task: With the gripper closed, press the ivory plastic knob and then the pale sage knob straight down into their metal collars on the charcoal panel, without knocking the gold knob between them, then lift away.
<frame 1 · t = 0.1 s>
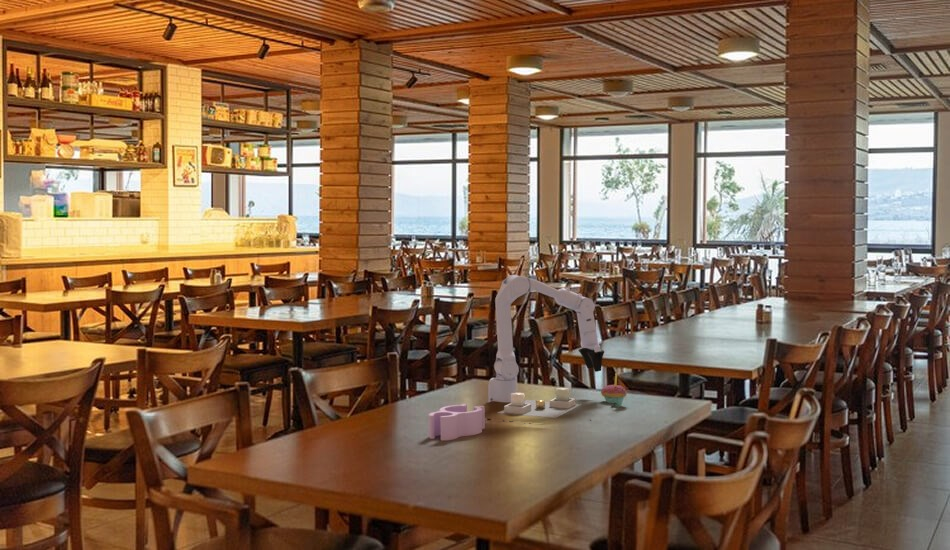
hand: (594, 369, 344), 11 cm above the table, tool pointing down, fingers open, 7 cm apart
ivory knob: (517, 399, 317), point 5 cm above the table, slide at 0.0 cm
cupcake: (613, 406, 333), on the table
gold knob: (540, 408, 322), point 1 cm above the table, touching panel
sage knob: (562, 394, 325), point 5 cm above the table, slide at 0.0 cm
panel: (540, 413, 322), on the table
clip: (456, 434, 293), on the table
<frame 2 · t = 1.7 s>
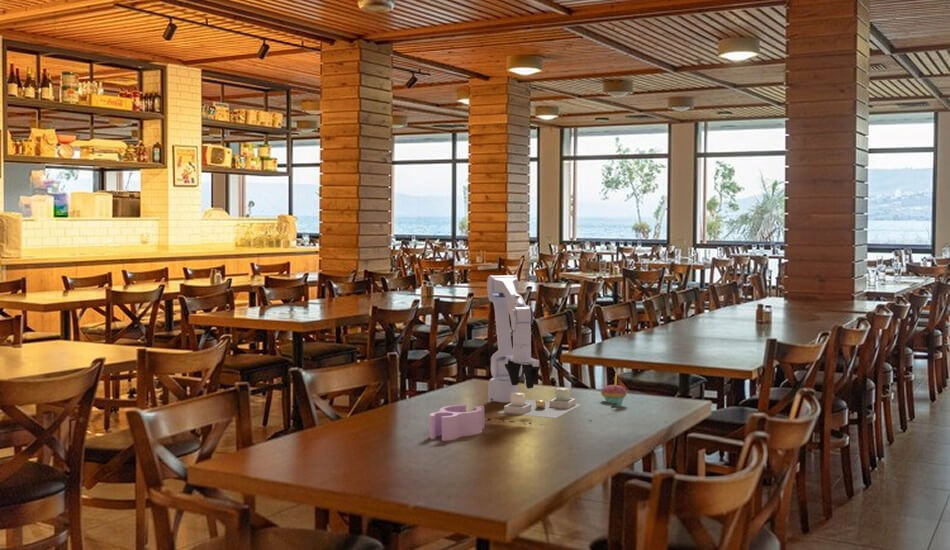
hand: (522, 386, 317), 9 cm above the table, tool pointing down, fingers open, 7 cm apart
nothing on the table moved.
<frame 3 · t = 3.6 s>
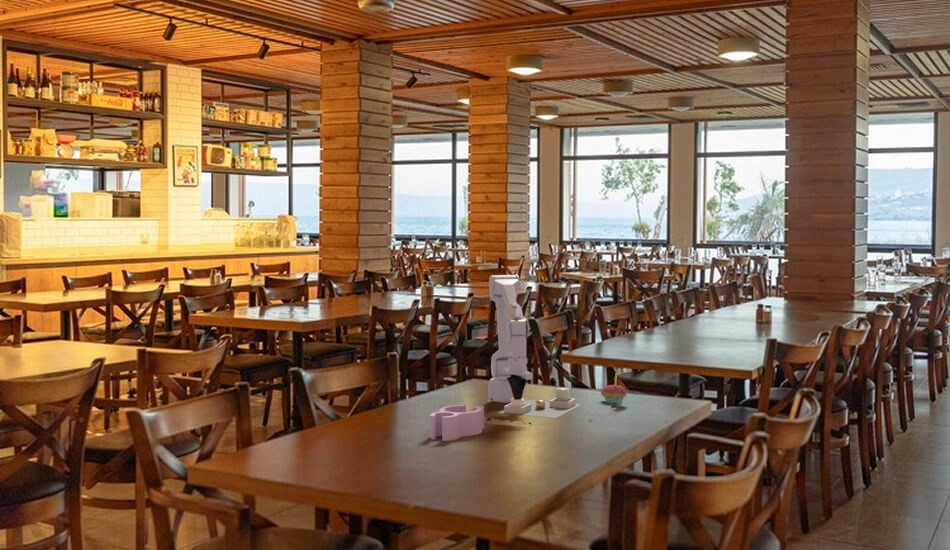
hand: (517, 399, 317), 5 cm above the table, tool pointing down, fingers closed, pressing on ivory knob
ivory knob: (517, 404, 317), point 4 cm above the table, slide at 1.7 cm, touching gripper
everything else where it was.
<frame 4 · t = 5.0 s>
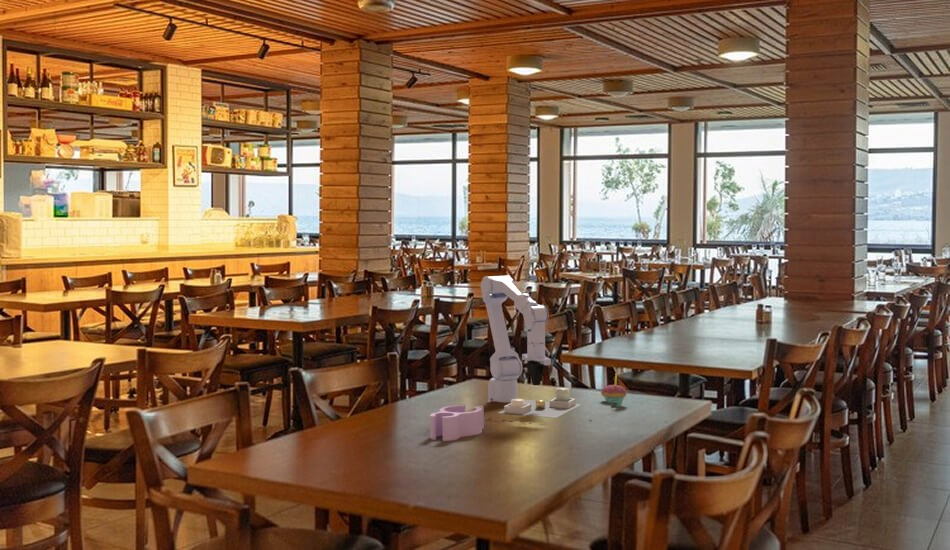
hand: (536, 384, 320), 9 cm above the table, tool pointing down, fingers closed
ivory knob: (517, 405, 317), point 3 cm above the table, slide at 2.0 cm, touching panel
everything else where it was.
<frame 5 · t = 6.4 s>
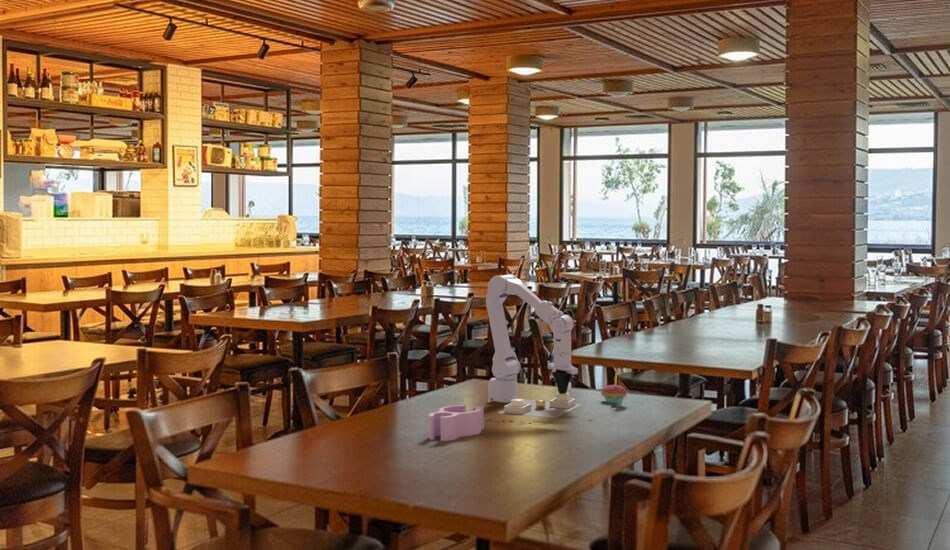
hand: (562, 393, 325), 6 cm above the table, tool pointing down, fingers closed, pressing on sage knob
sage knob: (562, 398, 325), point 4 cm above the table, slide at 1.5 cm, touching gripper
everything else where it was.
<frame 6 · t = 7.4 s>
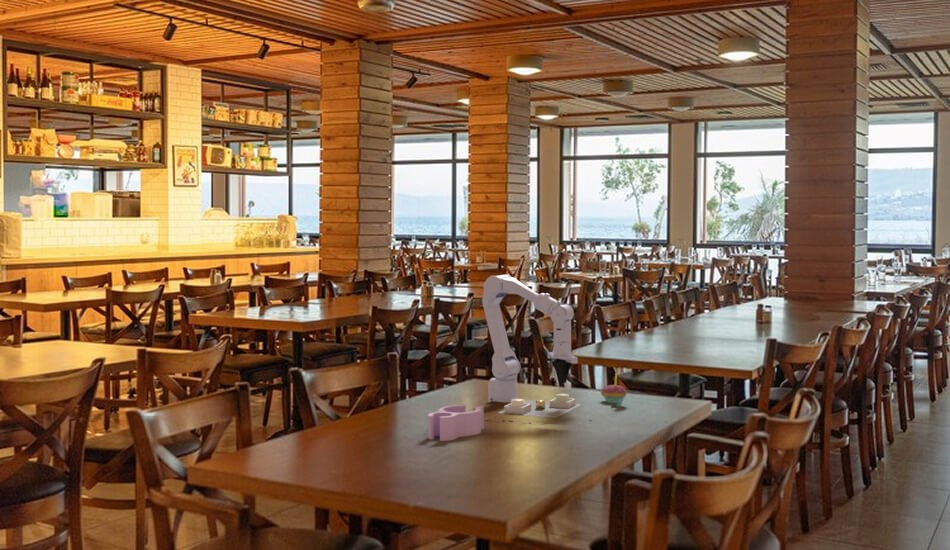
hand: (562, 382, 325), 9 cm above the table, tool pointing down, fingers closed
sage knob: (562, 400, 326), point 3 cm above the table, slide at 2.0 cm, touching panel
everything else where it was.
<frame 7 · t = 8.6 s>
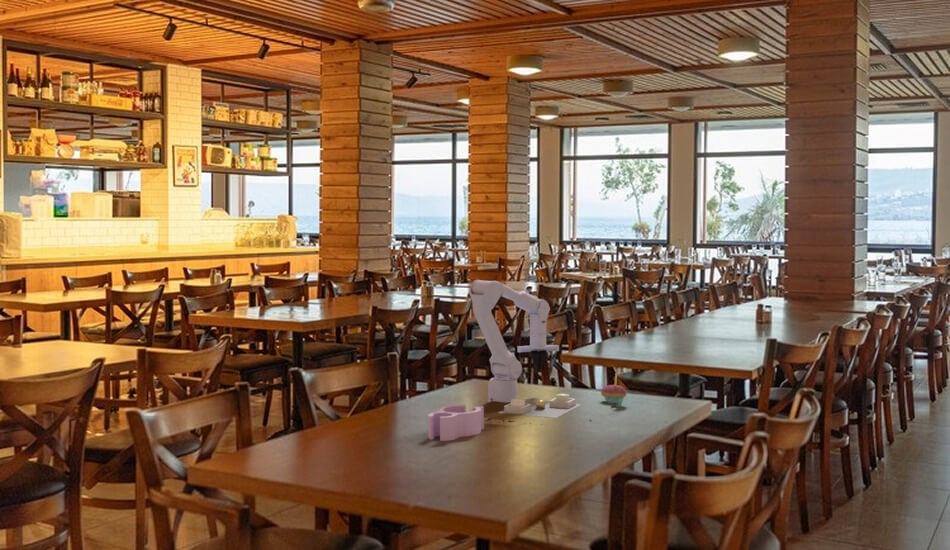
hand: (538, 372, 346), 9 cm above the table, tool pointing down, fingers closed
nothing on the table moved.
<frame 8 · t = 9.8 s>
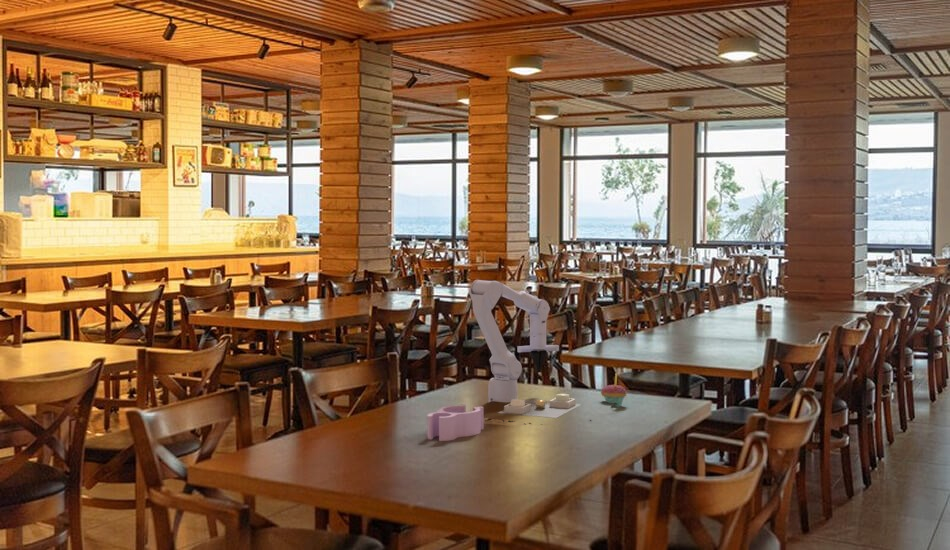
hand: (538, 372, 346), 9 cm above the table, tool pointing down, fingers closed
nothing on the table moved.
at the end: ivory knob slide at 2.0 cm; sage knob slide at 2.0 cm; gold knob moved 0.0 cm from its start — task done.
